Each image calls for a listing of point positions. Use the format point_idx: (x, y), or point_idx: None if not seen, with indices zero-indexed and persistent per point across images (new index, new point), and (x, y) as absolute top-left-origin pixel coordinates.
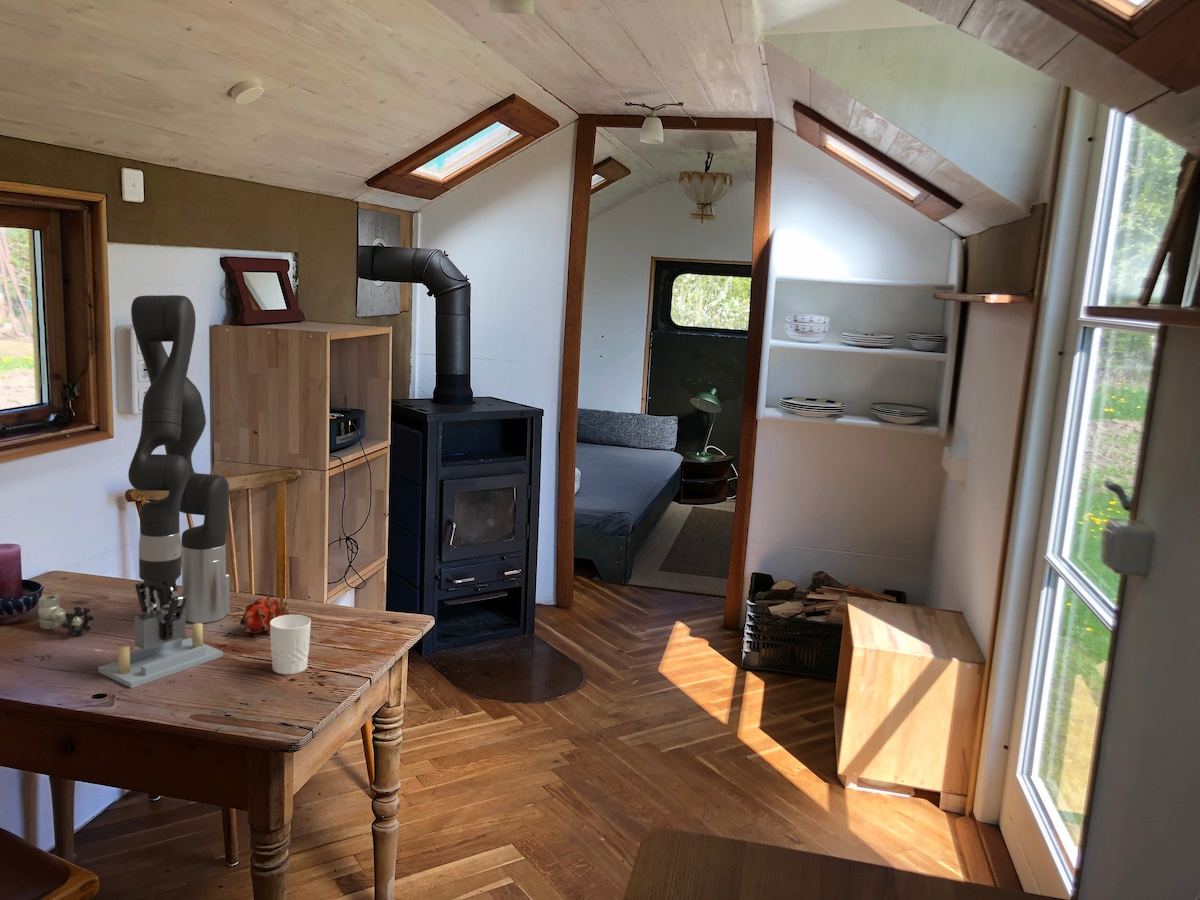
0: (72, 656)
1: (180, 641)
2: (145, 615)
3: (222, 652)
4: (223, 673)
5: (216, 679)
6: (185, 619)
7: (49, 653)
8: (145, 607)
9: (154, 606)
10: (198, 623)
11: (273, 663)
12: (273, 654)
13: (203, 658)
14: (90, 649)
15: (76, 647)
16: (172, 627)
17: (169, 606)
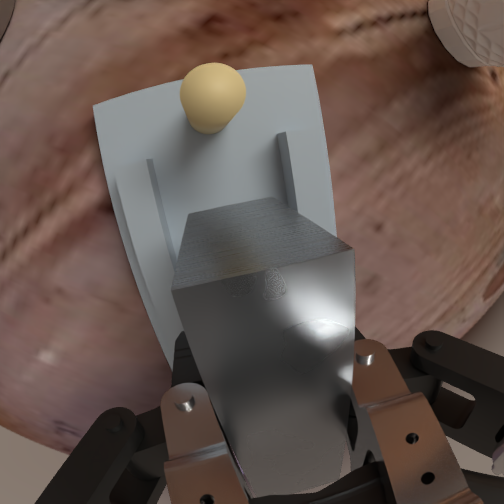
0: (72, 403)
1: (151, 168)
2: (281, 480)
3: (312, 67)
4: (415, 148)
5: (431, 185)
6: (309, 220)
7: (47, 418)
8: (162, 480)
9: (246, 486)
10: (197, 80)
11: (474, 61)
12: (495, 61)
13: (326, 148)
14: (40, 367)
15: (25, 380)
16: (355, 328)
17: (480, 452)
